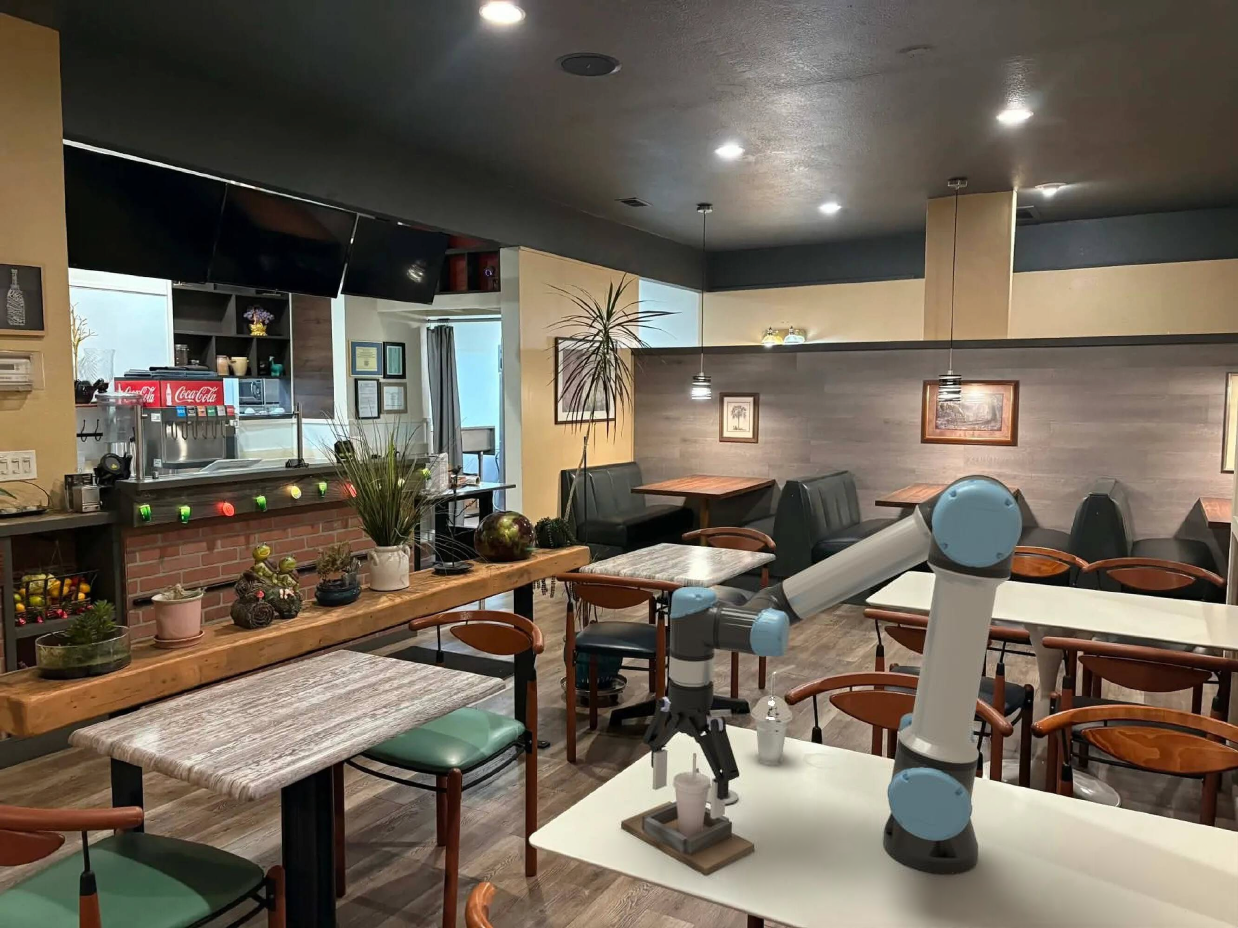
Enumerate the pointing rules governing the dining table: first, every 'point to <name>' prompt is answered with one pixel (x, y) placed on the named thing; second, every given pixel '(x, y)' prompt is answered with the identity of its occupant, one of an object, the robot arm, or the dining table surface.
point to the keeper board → (690, 838)
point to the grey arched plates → (730, 799)
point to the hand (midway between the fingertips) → (687, 801)
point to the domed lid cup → (771, 724)
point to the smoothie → (691, 800)
